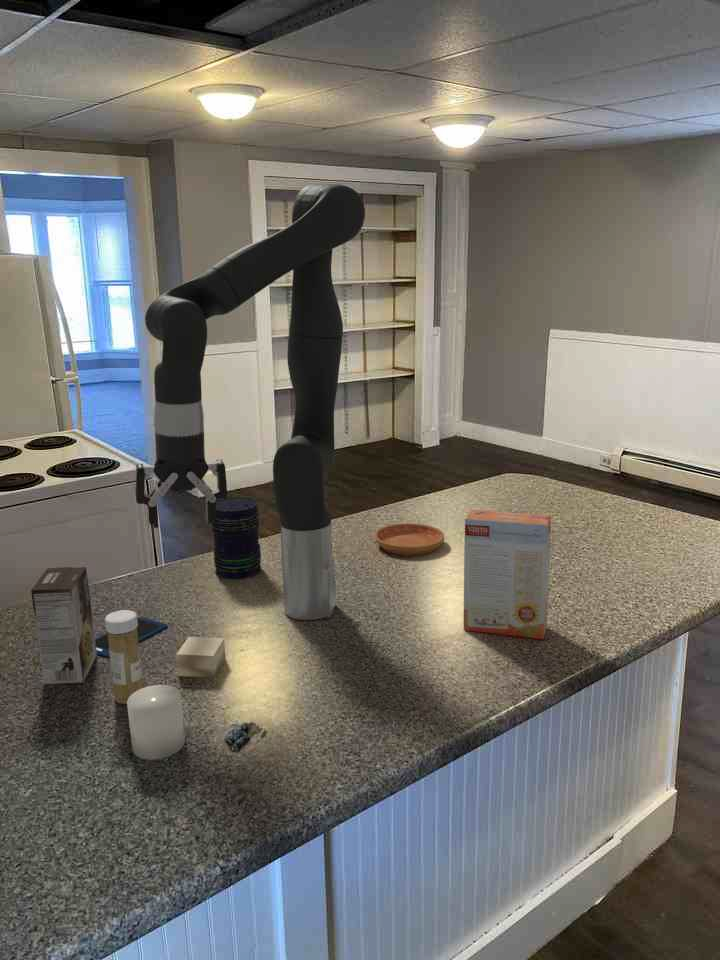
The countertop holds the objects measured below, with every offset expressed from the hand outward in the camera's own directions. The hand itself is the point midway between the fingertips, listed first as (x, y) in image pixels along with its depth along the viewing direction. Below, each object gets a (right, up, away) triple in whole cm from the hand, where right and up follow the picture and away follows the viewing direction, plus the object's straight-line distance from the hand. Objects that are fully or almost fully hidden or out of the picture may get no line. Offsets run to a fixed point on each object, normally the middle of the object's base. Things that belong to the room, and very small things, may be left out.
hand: (182, 524), depth 128 cm
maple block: (+3, -23, -1) cm, 24 cm away
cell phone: (-12, -21, +10) cm, 26 cm away
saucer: (+40, -8, +53) cm, 67 cm away
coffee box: (-18, -24, -1) cm, 30 cm away
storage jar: (+3, -12, +39) cm, 41 cm away
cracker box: (+54, -19, +11) cm, 59 cm away
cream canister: (+1, -29, -21) cm, 36 cm away
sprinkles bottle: (-6, -26, -9) cm, 28 cm away
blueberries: (+13, -29, -20) cm, 38 cm away
